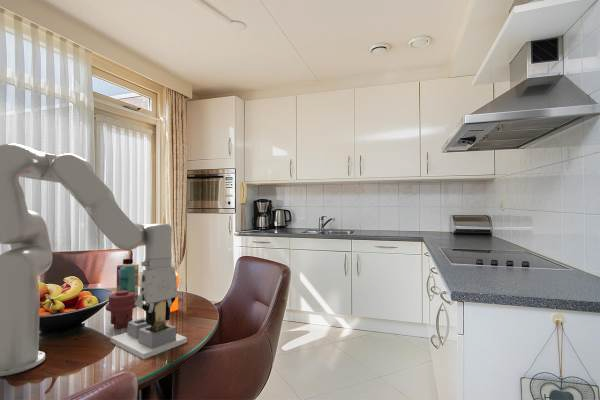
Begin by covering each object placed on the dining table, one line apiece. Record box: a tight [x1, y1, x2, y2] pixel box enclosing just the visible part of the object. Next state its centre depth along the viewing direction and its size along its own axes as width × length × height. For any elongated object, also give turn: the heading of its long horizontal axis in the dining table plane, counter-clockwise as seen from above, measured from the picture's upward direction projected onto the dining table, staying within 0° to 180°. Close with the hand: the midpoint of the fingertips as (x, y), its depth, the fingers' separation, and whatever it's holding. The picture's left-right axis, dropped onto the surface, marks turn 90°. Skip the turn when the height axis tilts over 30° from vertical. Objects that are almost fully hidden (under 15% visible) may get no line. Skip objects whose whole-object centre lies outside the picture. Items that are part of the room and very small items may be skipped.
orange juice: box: [170, 270, 179, 313], centre depth 133 cm, size 8×9×20 cm
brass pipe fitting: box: [151, 300, 167, 332], centre depth 98 cm, size 4×4×10 cm
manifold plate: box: [110, 317, 188, 360], centre depth 100 cm, size 14×20×6 cm
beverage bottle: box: [119, 258, 135, 293], centre depth 143 cm, size 6×7×20 cm
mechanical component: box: [105, 290, 137, 330], centre depth 115 cm, size 12×10×10 cm
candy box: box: [115, 263, 139, 297], centre depth 155 cm, size 9×4×15 cm, turn 91°
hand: (158, 321), depth 98 cm, fingers closed on brass pipe fitting, 4 cm apart
